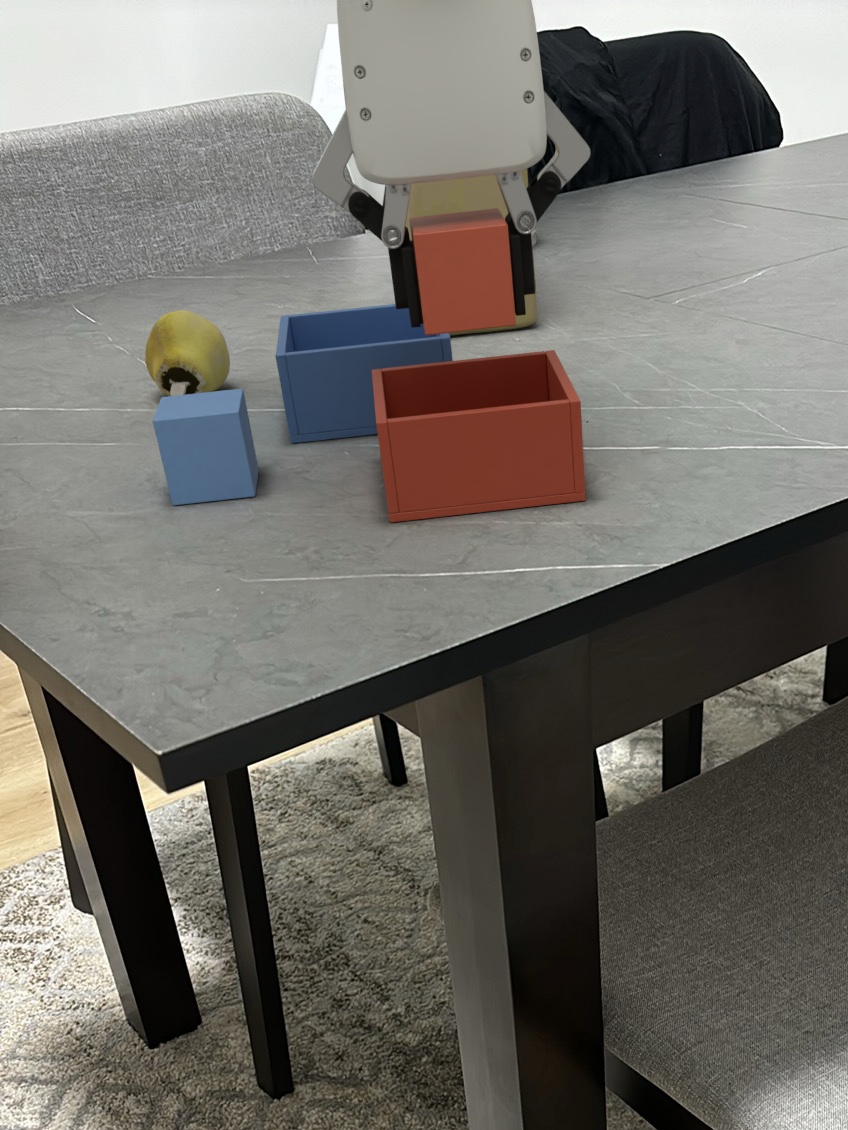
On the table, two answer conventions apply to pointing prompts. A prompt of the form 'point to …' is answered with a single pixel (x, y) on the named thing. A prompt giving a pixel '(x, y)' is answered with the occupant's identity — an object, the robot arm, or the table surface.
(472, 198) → the cheese
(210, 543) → the table surface
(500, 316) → the red block
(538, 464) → the red bin
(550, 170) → the robot arm
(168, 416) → the blue block
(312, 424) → the blue bin
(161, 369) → the mushroom
